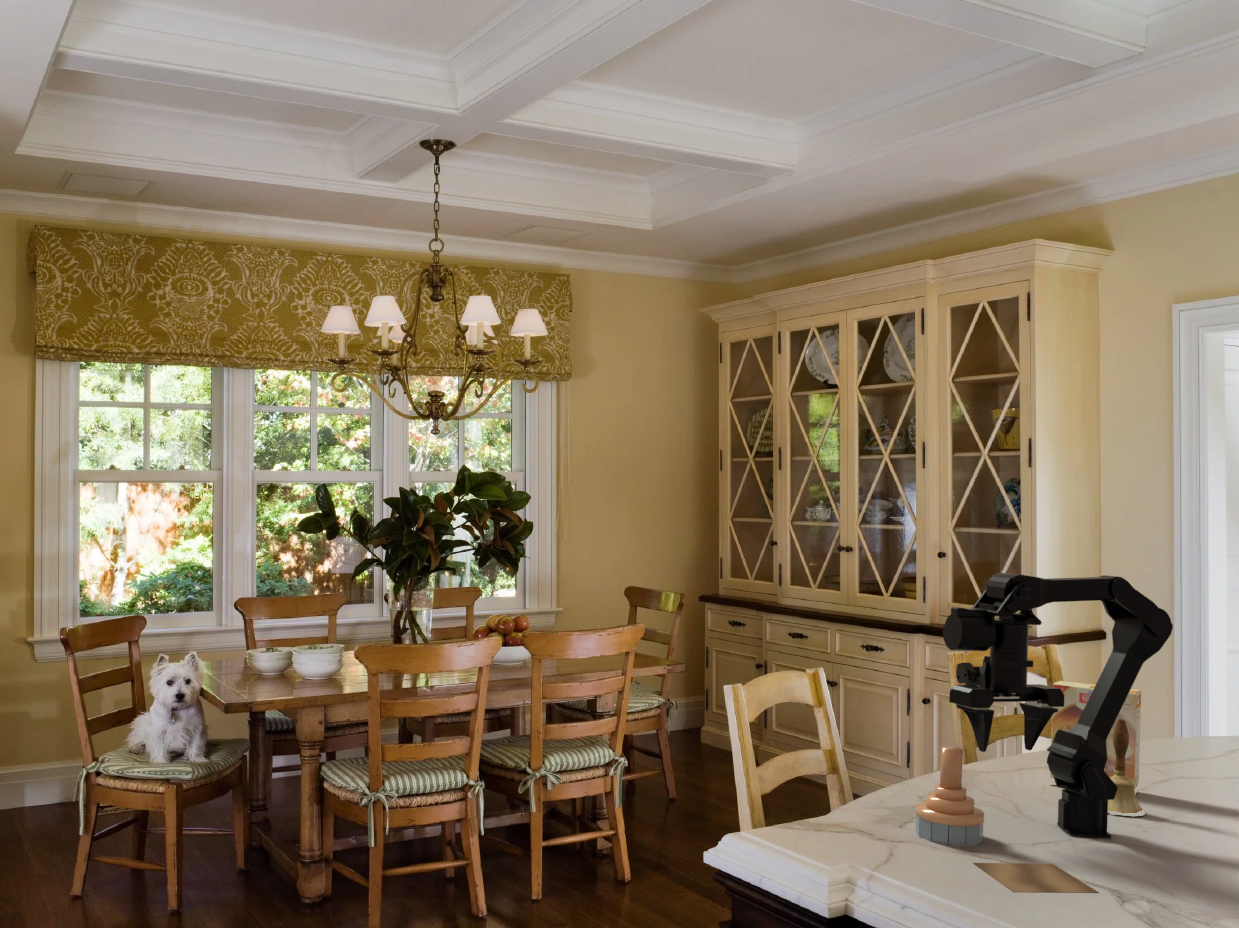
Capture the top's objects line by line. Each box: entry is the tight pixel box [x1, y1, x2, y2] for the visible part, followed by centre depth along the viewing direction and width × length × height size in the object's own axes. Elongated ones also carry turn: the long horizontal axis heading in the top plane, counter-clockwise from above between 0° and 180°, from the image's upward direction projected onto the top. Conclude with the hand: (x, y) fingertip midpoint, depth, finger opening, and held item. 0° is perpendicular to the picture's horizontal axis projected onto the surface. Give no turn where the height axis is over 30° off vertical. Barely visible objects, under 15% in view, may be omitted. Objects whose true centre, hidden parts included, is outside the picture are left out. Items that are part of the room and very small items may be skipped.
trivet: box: [972, 862, 1100, 894], centre depth 149 cm, size 12×12×1 cm
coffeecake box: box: [1049, 680, 1142, 790], centre depth 208 cm, size 15×7×20 cm, turn 58°
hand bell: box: [1108, 719, 1143, 813], centre depth 191 cm, size 8×8×16 cm
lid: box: [915, 745, 985, 826], centre depth 168 cm, size 10×10×10 cm
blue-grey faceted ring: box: [915, 815, 984, 847], centre depth 167 cm, size 10×10×4 cm
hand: (1005, 750), depth 173 cm, fingers open, 9 cm apart
